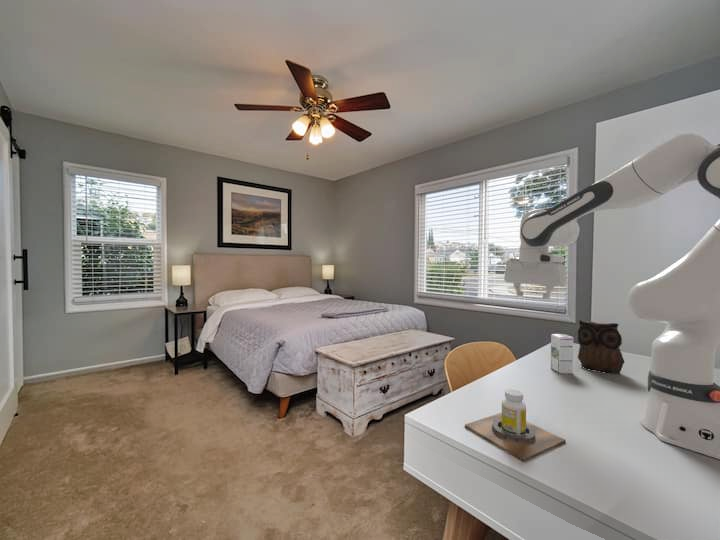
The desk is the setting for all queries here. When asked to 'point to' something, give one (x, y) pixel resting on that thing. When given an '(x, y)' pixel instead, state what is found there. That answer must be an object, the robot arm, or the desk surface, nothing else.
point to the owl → (600, 346)
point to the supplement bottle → (514, 413)
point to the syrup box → (562, 353)
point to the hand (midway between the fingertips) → (532, 297)
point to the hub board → (515, 438)
